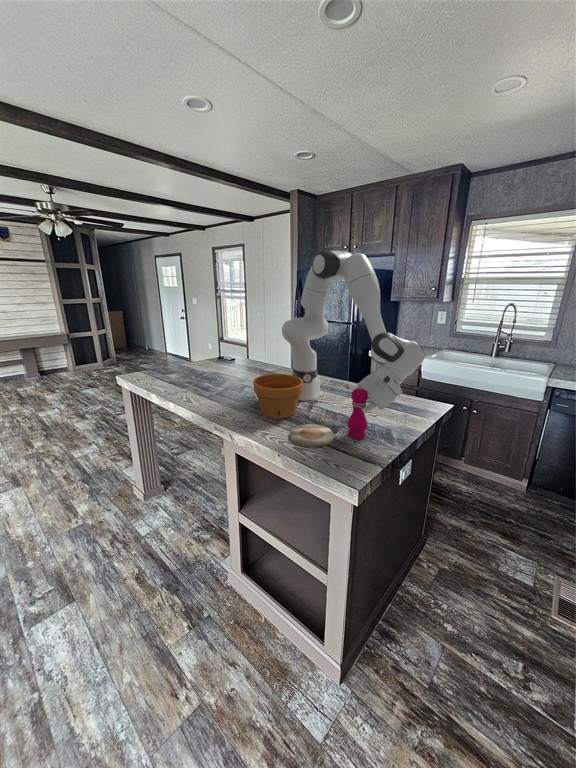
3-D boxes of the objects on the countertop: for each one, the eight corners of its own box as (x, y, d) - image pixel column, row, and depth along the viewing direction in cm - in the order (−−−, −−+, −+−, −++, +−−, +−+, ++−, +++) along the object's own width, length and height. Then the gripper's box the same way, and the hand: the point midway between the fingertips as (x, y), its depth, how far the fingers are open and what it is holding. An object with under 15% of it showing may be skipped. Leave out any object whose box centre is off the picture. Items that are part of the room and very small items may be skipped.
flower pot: (308, 407, 147) (309, 376, 142) (293, 426, 128) (293, 391, 123) (266, 401, 153) (265, 371, 149) (246, 418, 135) (244, 385, 130)
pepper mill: (363, 430, 124) (367, 381, 118) (368, 439, 117) (373, 387, 111) (345, 430, 124) (348, 381, 117) (349, 439, 117) (352, 388, 111)
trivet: (287, 428, 126) (287, 425, 125) (327, 426, 128) (327, 423, 127) (293, 448, 111) (293, 445, 110) (338, 445, 113) (338, 442, 112)
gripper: (370, 366, 124) (344, 391, 125) (393, 382, 104) (362, 411, 106) (380, 377, 126) (354, 401, 127) (404, 395, 106) (374, 423, 108)
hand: (358, 406), depth 117 cm, fingers open, 8 cm apart
